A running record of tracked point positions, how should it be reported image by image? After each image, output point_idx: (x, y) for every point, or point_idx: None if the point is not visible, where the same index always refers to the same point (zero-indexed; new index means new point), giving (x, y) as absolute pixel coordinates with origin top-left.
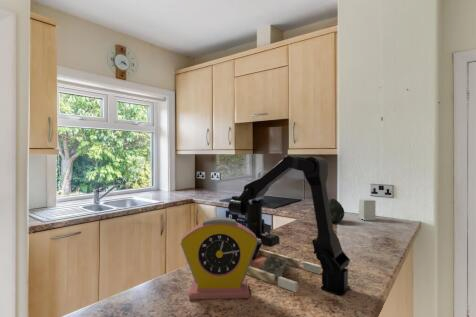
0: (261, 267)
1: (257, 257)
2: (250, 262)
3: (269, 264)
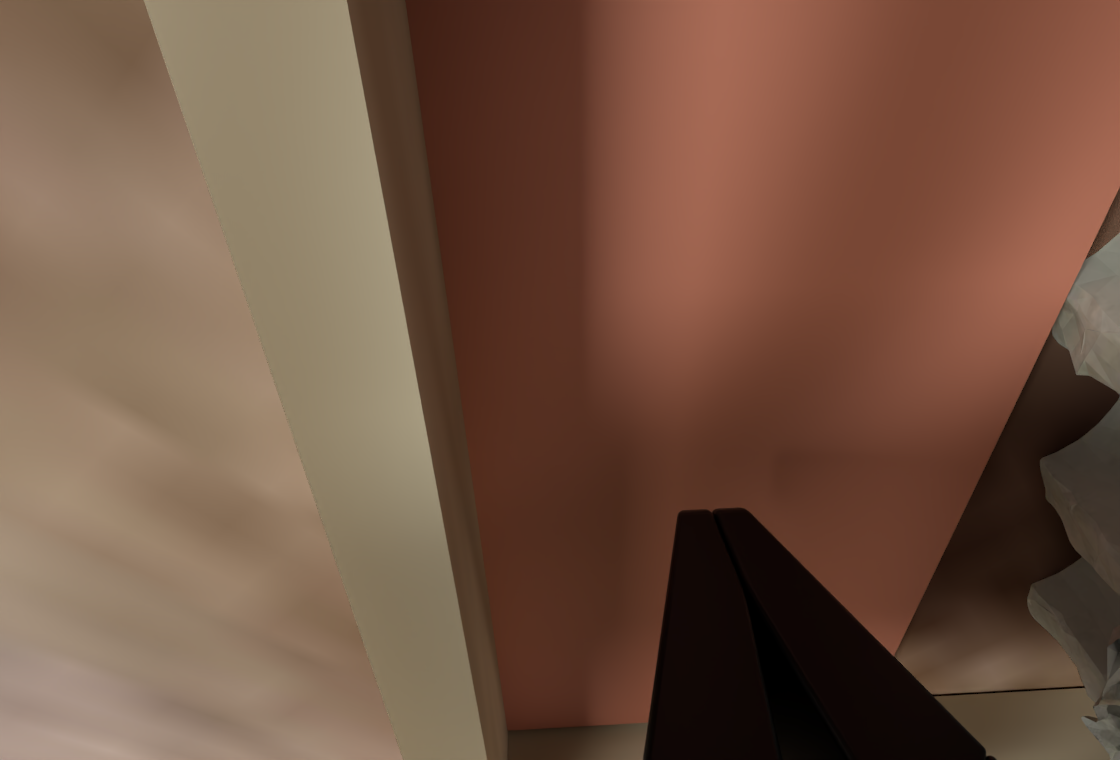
0: (1113, 754)
1: (491, 64)
2: (597, 489)
3: (1112, 256)
